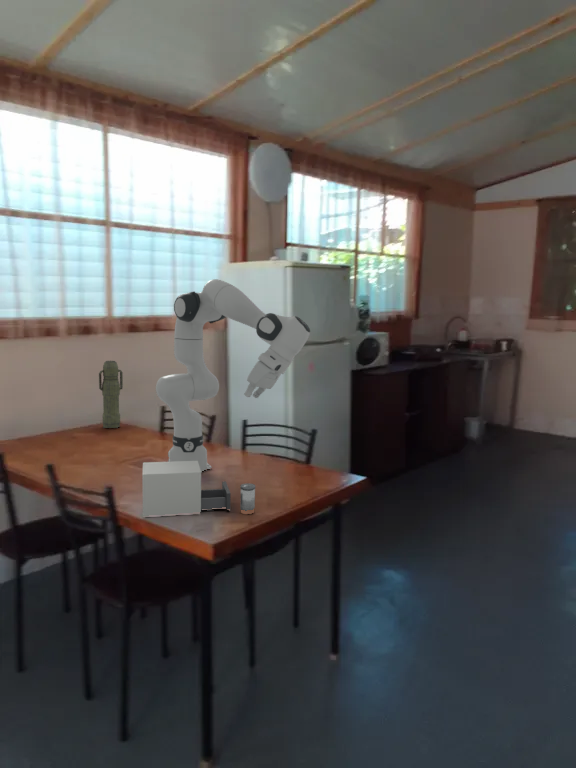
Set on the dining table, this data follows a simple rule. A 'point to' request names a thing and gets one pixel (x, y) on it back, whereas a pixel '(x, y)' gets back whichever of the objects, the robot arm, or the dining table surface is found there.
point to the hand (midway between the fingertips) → (250, 396)
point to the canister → (247, 496)
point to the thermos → (111, 394)
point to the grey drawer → (216, 497)
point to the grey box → (171, 487)
